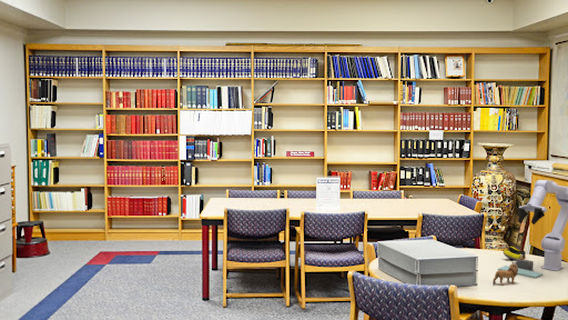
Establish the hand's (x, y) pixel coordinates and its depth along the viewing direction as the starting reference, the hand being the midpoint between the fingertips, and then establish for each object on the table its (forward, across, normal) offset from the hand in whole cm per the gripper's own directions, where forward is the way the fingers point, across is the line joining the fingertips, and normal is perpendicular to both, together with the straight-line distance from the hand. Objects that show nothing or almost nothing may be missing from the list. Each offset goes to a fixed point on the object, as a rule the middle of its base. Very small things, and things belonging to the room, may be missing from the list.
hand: (526, 222), depth 267 cm
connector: (+12, -12, +26) cm, 31 cm away
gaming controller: (+2, -29, +35) cm, 46 cm away
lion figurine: (+32, 0, +4) cm, 33 cm away
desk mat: (+17, -9, +20) cm, 28 cm away
